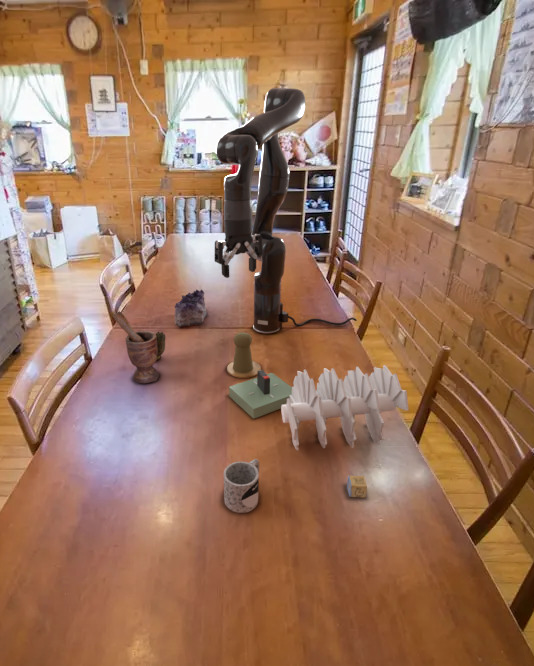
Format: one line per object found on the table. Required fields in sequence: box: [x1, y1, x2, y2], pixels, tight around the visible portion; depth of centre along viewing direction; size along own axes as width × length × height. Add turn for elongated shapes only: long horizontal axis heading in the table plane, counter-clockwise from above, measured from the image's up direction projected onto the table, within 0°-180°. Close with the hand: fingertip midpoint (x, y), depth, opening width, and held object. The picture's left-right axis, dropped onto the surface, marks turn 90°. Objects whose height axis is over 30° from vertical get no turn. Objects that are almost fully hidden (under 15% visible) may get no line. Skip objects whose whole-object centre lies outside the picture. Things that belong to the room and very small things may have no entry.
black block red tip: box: [256, 369, 270, 394], centre depth 118 cm, size 5×2×5 cm, turn 19°
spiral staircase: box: [280, 364, 409, 451], centre depth 102 cm, size 18×18×25 cm
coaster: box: [226, 360, 262, 379], centre depth 135 cm, size 10×10×1 cm
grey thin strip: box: [223, 458, 260, 514], centre depth 89 cm, size 10×7×7 cm
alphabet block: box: [346, 475, 368, 498], centre depth 89 cm, size 3×3×3 cm
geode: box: [174, 289, 208, 328], centre depth 168 cm, size 20×12×10 cm, turn 174°
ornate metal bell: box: [155, 331, 167, 362], centre depth 140 cm, size 8×7×8 cm
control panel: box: [228, 372, 293, 420], centre depth 120 cm, size 14×12×3 cm
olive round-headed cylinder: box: [232, 331, 253, 373], centre depth 132 cm, size 6×6×11 cm
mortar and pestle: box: [112, 310, 160, 384], centre depth 127 cm, size 12×9×20 cm
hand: (239, 274), depth 128 cm, fingers open, 8 cm apart
